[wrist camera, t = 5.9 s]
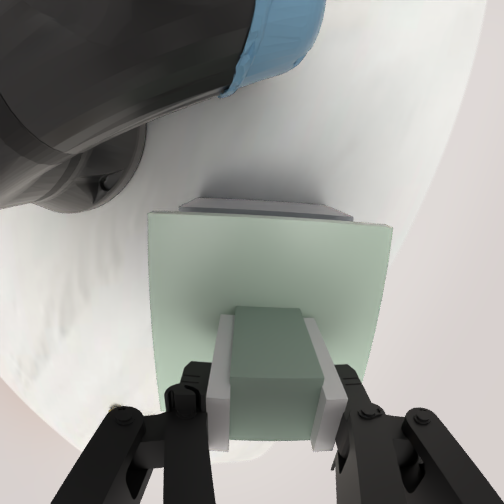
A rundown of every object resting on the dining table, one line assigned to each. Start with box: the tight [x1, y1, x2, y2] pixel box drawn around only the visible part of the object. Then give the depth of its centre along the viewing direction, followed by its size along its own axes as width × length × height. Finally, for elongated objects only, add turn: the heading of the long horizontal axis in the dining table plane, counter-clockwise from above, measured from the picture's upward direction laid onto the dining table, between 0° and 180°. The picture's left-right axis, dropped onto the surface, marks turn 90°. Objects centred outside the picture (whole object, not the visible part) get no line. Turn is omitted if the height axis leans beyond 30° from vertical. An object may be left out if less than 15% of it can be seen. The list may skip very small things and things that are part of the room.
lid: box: [148, 211, 393, 441], centre depth 15 cm, size 12×12×9 cm
